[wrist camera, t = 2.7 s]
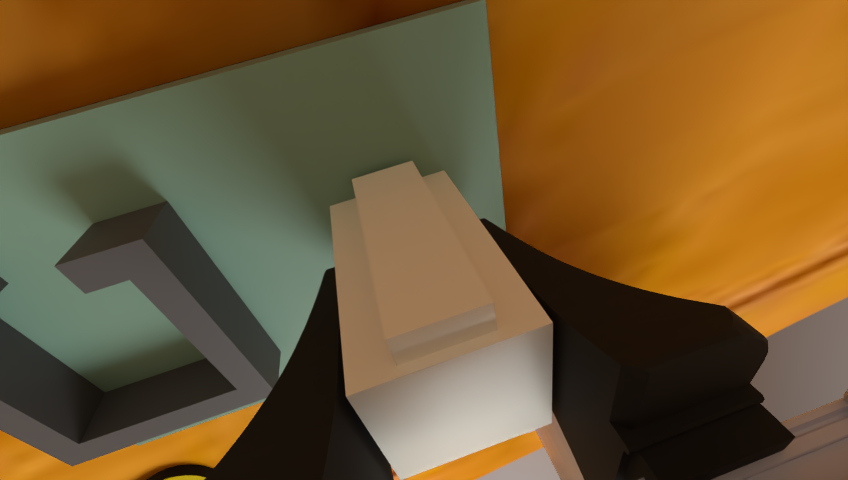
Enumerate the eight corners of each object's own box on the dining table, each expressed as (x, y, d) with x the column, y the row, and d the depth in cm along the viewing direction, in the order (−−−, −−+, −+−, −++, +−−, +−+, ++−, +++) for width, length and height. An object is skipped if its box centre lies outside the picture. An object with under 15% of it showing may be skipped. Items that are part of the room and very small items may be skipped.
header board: (504, 299, 18) (533, 346, 16) (146, 424, 17) (119, 495, 15) (472, -2, 11) (519, 2, 8) (-196, 184, 9) (-374, 253, 7)
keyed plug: (461, 257, 15) (551, 423, 9) (366, 289, 14) (400, 480, 9) (439, 148, 12) (553, 293, 6) (320, 185, 12) (329, 371, 6)
